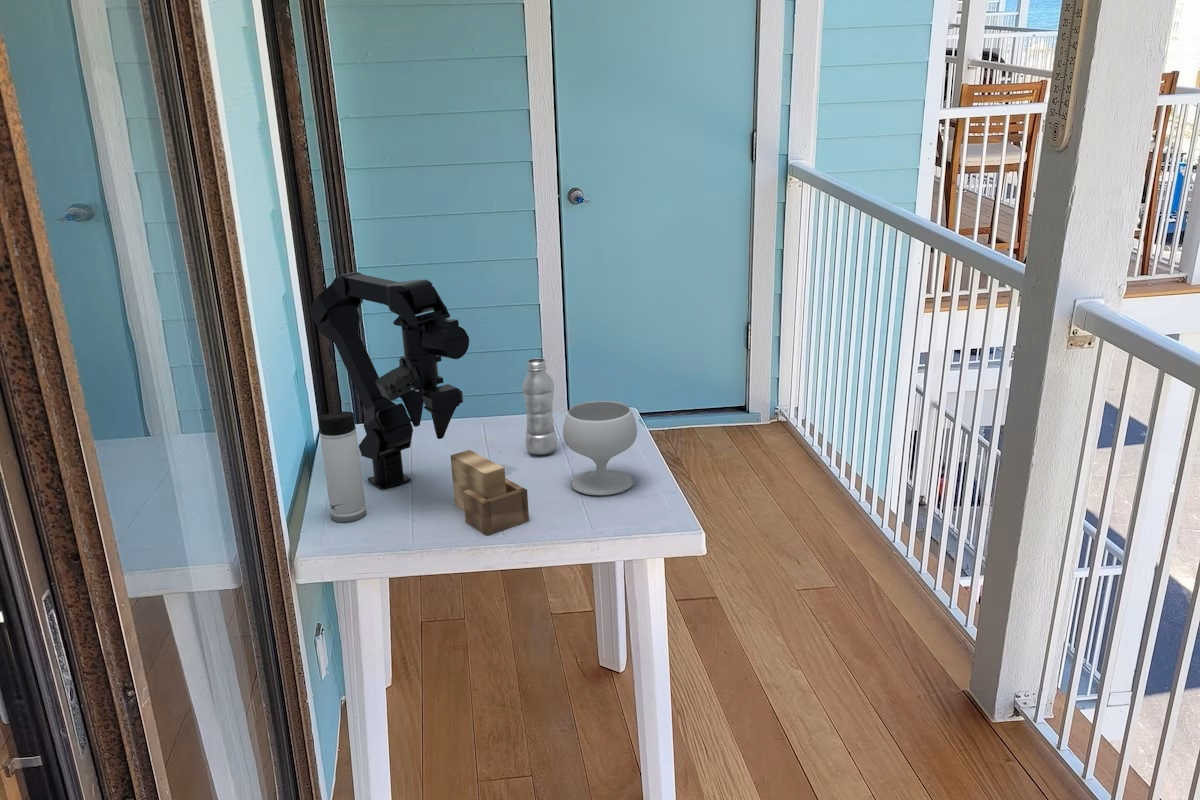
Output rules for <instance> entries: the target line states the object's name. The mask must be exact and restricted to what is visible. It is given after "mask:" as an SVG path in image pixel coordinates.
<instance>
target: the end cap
mask: <svg viewBox="0 0 1200 800" xmlns="http://www.w3.org/2000/svg"><path fill="white" fill-rule="evenodd" d="M505 483H506V493H505V494H502V495H499V496H496V497H493V498H490V499H487V500H486V499H484V498H483V497H481V496H479V495H477V494H476V493H474V492H472V491H471V490H465V491H463V499H464V510H465V511H464V510H463V511H464V517H465V518H464V520H465V524H467V525H469V526H471V527H472V528H474V529H475V530H477V531H478V532H480V533H482V534H483V533H484V534H483V535H485V536H486V535H487V536H489V535H492V534H495V533H498V531H499V532H501V531H504V530H506V528H507V529H509V528H512V527H516V526H518V525H521V524H524V523H527V522H530V514H529V512H530V511H529V500H528V499H529V497H528V489H527V488H525V487H523V486H521V485H519V484H517V483H516V482H514V481H512V480H509V479H508V478H506V477H505Z"/></svg>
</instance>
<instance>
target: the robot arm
mask: <svg viewBox="0 0 1200 800" xmlns="http://www.w3.org/2000/svg"><path fill="white" fill-rule="evenodd" d="M363 300H365V301H368V302H373V303H376V304H381V305H385V306H387V308H388V309H389V311H390V312H392V313H393V314H395V315H397V318H395V319H394V320H393V325H394V326H397V327H401V335H402V344H403V345H402V346H403V356H400V358H399V359H398V361H399V366H397V367H395V368H393V369H391V370H389V371H388V372H386V373H385V374H384V375H381V376H379V374H378V372H377V370H376V368H375V366H374V363H373V362H372V360H371V356H370V355H369V353H368V351H367V349H366V346H365V344H364V342H363V339H362V337H361V335H360V333H359V331H360V321H361V316H360V312H359V308H360V306H361V305H362V303H363V302H364V301H363ZM309 313H310V317H311V320H312V321H313V322H314V324H315V326H316V327H317V329H318V330H319V333H320V334H321V335H323V336H324V337H325V338H327V339H328V340H329V341H331V342H332V343H334V346H335V347H336V350H337V351H338V354H339V356H340V358H341V360H342V362H343V364H344V367H345V368H346V371H347V373H348V375H349V378H350V379H351V382H352V384H353V386H354V388H355V390H356V393H357V396H358V397H359V399H360V401H361V404H362V406H363V408H364V420H363V428H364V430H365V436H364V437H363V438H362V440H361V441H360V443H358V449H359V453H360V456H361V457H364V458H366V459H371V462H372V463H371V464H372V469H373V470H372V471H373V475H372V476H369V477H367V481H368V482H369V483H371V484H373V485H374V486H375V487H377V488H379V489H380V490H385V489H387V488H392V487H394V486H395V487H396V486H399V485H401V484H405V483H408V482H411V480H412V479H411V477H410V476H409V475H406V474H405V473H404V466H403V458H402V451H404V450H406V449H409V448H411V444H412V438H413V433H414V432H413V431H414V428H413V427H415V428H417V427H419V426H420V425H421V421H422V416H423V409H425V410H426V411H427V412H429V413H430V414H431V418H432V423H433V427H434V432H435V435H436V438H437V439H438V440H441V439H443V438H444V437H445V435H446V431H447V430H448V427H449V424H450V422H451V419H452V417H453V415H454V413H455V411H456V409H457V407H460V404H463V403H464V395H463V391H462V390H461V389H460V388H458V387H456V386H454V385H452V384H449V383H447V384H444V377H443V376H441V375H439V367H438V363H439V362H442V358H447V359H452V360H459V359H461V358H462V357H464V356H466V353H467V351H468V349H469V346H470V336H469V334H468V333H467V331H466V329H464V328H463V327H461V326H460V325H459V324H460V323H459V320H458V319H455V318H451V315H450V312H449V311H448V307H447V306H446V305H445V303H444V302H443V300H442V298H441V296H440V295H439V293H438V291H437V289H436V288H435V287H434V286H433V283H432V282H431V281H429V280H428V279H414V280H406V281H395V280H390V279H385V278H382V277H377V276H376V277H375V276H372V275H366V274H363V273H362V272H358V271H353V272H349V273H343V274H339V275H338V276H337V277H335V278H334V279H333V281H332V283H331V284H330V285H328V287H326V288H325V289H324V290H323V291H322V292H321V293H319V294H318V295H317V297H315V299H314V300H313V302H312V305H311V307H310V311H309ZM449 318H451V319H449ZM440 384H443V385H440ZM399 398H400V399H401V400H402V402H403V403H398V404H397V403H395V402H393V401H395V400H398V399H399Z"/></svg>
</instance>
